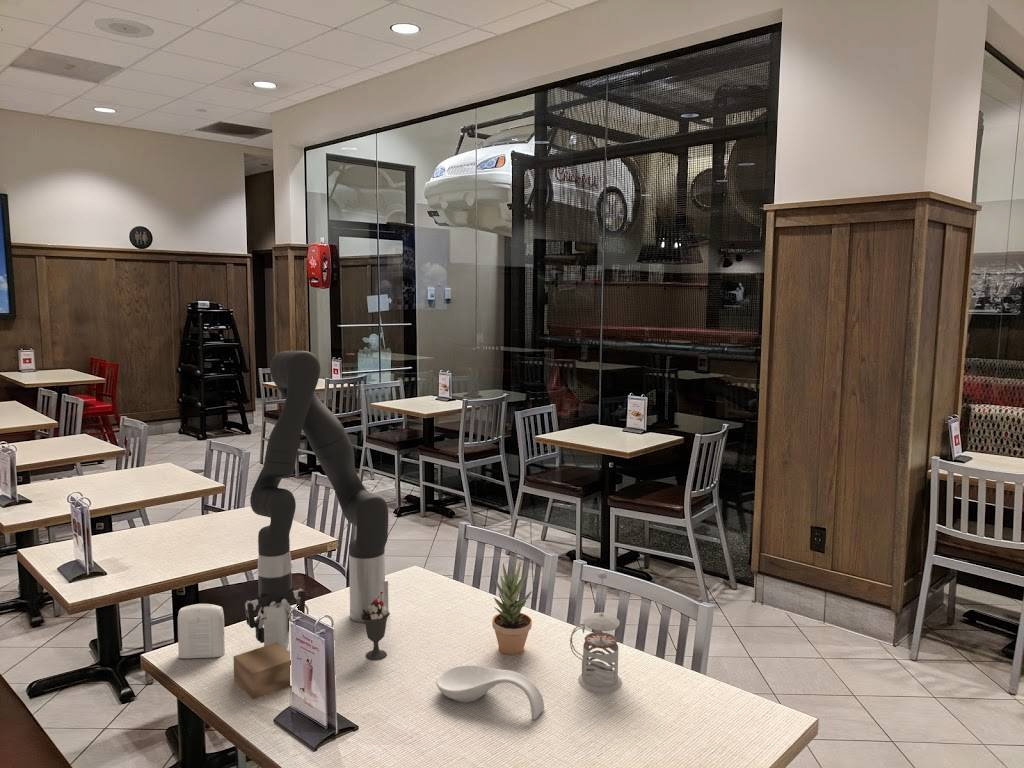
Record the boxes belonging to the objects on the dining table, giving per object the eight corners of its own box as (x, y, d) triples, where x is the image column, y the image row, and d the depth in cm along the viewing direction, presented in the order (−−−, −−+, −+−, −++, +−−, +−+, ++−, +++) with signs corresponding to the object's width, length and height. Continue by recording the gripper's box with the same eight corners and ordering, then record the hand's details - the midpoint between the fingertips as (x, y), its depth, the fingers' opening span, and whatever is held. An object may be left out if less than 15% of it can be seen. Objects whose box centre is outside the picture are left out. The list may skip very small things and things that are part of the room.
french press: (621, 695, 157) (624, 582, 154) (566, 689, 159) (568, 577, 156) (623, 672, 166) (626, 565, 163) (572, 666, 168) (574, 561, 166)
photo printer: (227, 649, 175) (225, 599, 174) (222, 658, 171) (220, 607, 170) (182, 652, 174) (179, 602, 173) (176, 660, 170) (173, 609, 168)
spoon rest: (426, 701, 154) (426, 668, 153) (454, 675, 165) (454, 645, 164) (529, 730, 144) (529, 696, 143) (552, 701, 154) (552, 669, 154)
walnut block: (277, 667, 168) (277, 642, 167) (298, 684, 160) (297, 658, 160) (234, 682, 161) (233, 656, 160) (253, 700, 154) (252, 673, 153)
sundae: (393, 649, 176) (393, 589, 175) (386, 662, 170) (385, 600, 168) (366, 647, 177) (365, 587, 175) (358, 661, 170) (357, 599, 169)
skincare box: (272, 644, 178) (270, 596, 177) (290, 644, 178) (289, 596, 177) (263, 656, 172) (261, 606, 171) (282, 656, 172) (280, 607, 171)
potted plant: (531, 658, 172) (532, 557, 169) (491, 657, 172) (491, 556, 170) (531, 639, 182) (532, 542, 179) (493, 638, 182) (493, 542, 179)
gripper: (298, 559, 180) (300, 624, 182) (238, 572, 172) (241, 639, 174) (310, 568, 174) (311, 635, 176) (248, 582, 166) (251, 652, 168)
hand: (276, 637), depth 175 cm, fingers closed on skincare box, 7 cm apart
